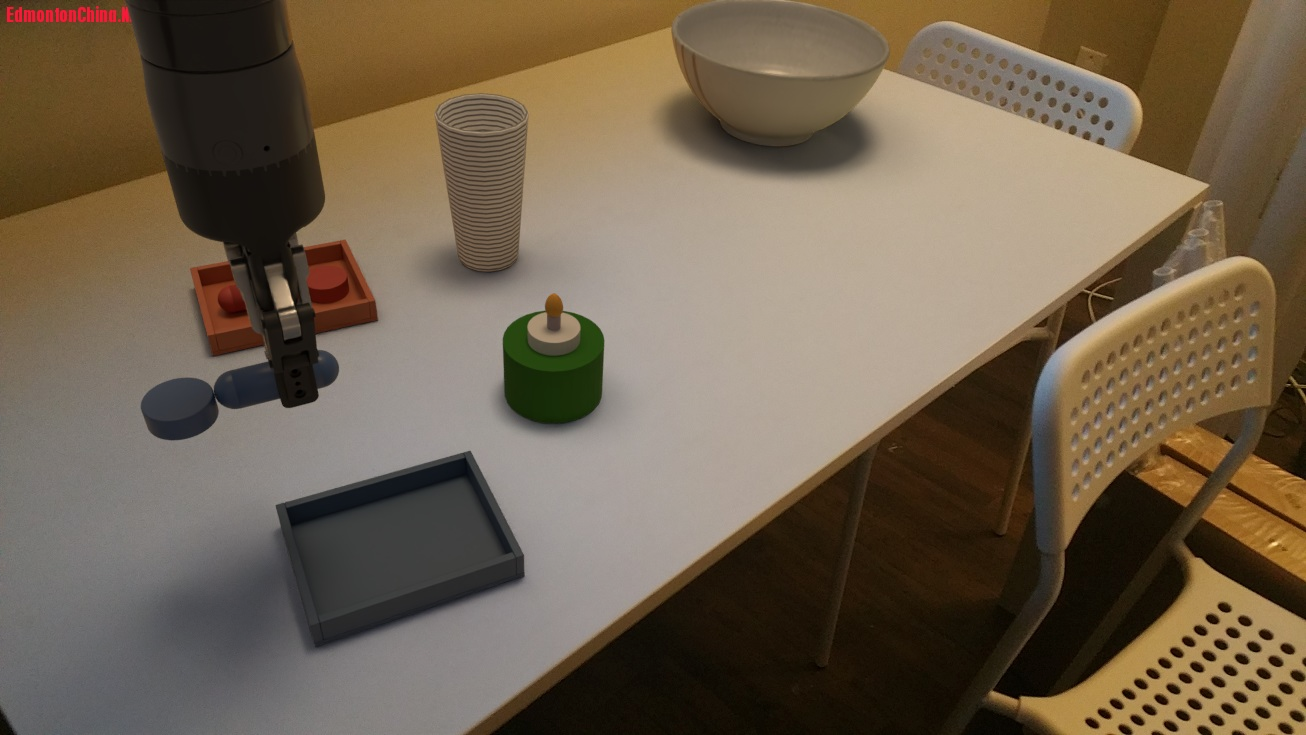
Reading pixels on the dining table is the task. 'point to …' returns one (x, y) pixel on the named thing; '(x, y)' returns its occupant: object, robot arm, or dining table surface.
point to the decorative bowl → (776, 65)
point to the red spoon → (322, 288)
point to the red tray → (351, 310)
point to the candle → (553, 364)
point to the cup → (484, 175)
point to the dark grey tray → (397, 545)
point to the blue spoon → (217, 397)
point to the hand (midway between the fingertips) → (295, 386)
